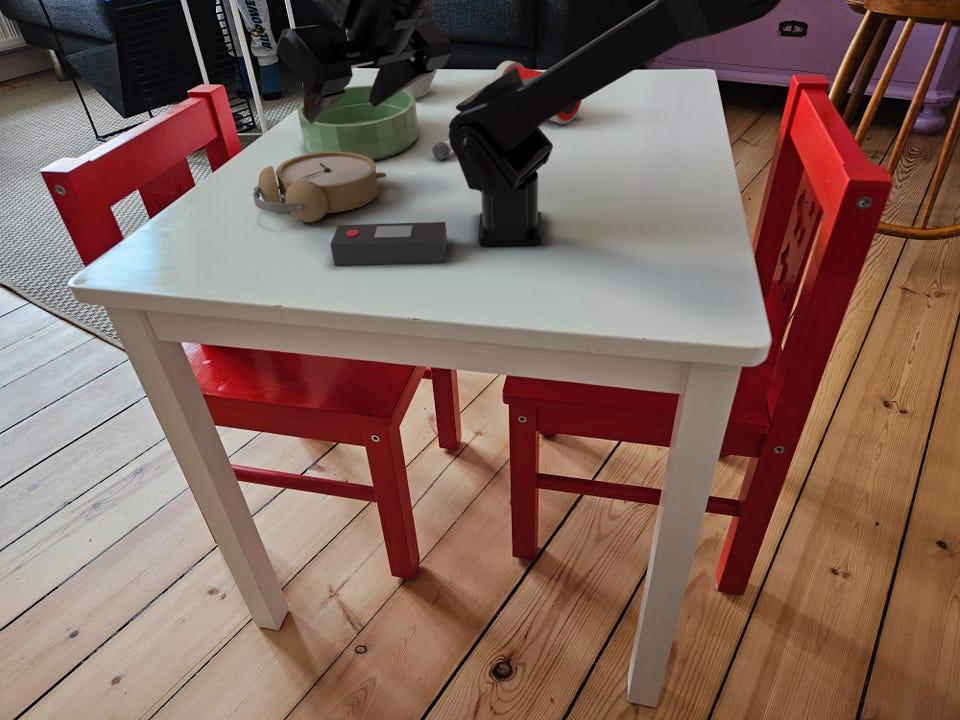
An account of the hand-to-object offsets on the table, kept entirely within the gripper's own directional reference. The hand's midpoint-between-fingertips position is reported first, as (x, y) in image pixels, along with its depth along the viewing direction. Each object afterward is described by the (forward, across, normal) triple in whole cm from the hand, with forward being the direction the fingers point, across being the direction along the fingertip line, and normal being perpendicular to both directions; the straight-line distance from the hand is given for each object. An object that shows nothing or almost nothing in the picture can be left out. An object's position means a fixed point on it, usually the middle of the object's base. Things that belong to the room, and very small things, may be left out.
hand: (341, 111), depth 75 cm
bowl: (+14, -14, -4) cm, 20 cm away
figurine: (+17, -31, -11) cm, 37 cm away
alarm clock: (+10, +2, +4) cm, 11 cm away
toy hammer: (+4, -28, +6) cm, 29 cm away
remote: (+2, +6, +16) cm, 17 cm away
